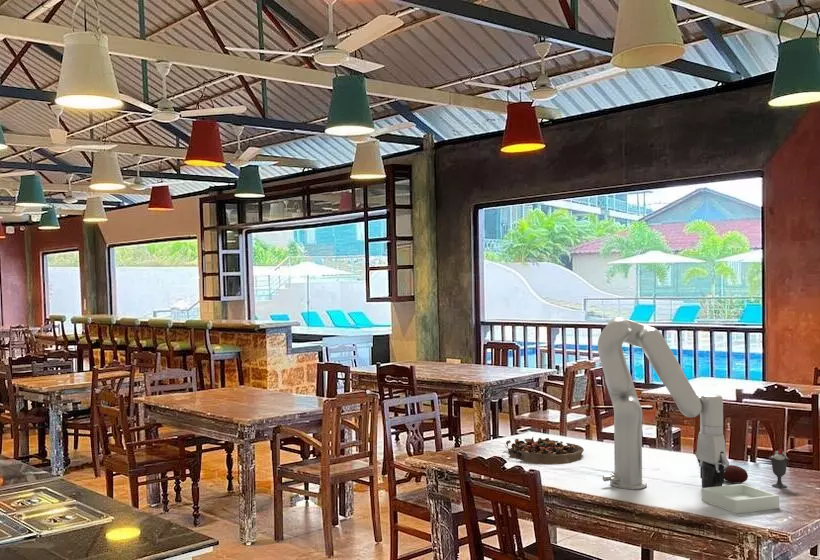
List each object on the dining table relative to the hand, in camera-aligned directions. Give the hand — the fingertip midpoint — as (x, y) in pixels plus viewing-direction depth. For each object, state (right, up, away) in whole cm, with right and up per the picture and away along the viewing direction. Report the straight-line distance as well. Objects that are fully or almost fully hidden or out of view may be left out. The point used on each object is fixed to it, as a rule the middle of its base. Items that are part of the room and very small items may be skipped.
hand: (712, 480), depth 276 cm
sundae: (+25, -3, +3) cm, 26 cm away
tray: (+2, -3, -18) cm, 19 cm away
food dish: (-49, -4, +57) cm, 75 cm away
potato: (+12, -3, +9) cm, 15 cm away
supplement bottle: (0, -3, 0) cm, 3 cm away
